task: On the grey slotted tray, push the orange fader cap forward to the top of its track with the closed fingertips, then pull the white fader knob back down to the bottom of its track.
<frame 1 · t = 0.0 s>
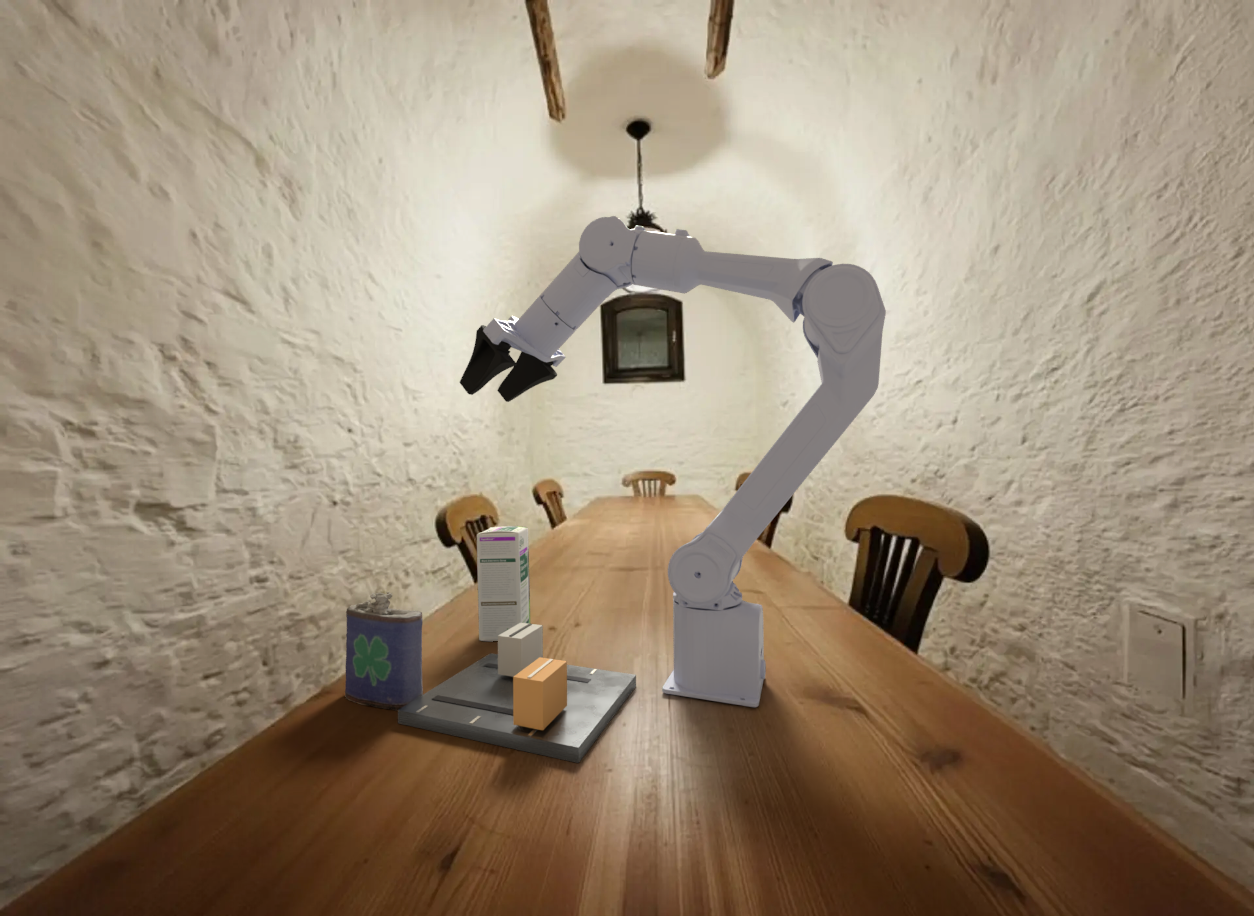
hand: (485, 392, 62), 32 cm above the table, tool tilted 50°, fingers open, 7 cm apart
orange fader: (541, 691, 43), point 4 cm above the table, slide at 0.0 cm
flask: (381, 702, 49), on the table
grey slotted tray: (525, 703, 48), on the table
white fader knob: (520, 648, 53), point 4 cm above the table, slide at 7.0 cm
syrup box: (504, 635, 68), on the table
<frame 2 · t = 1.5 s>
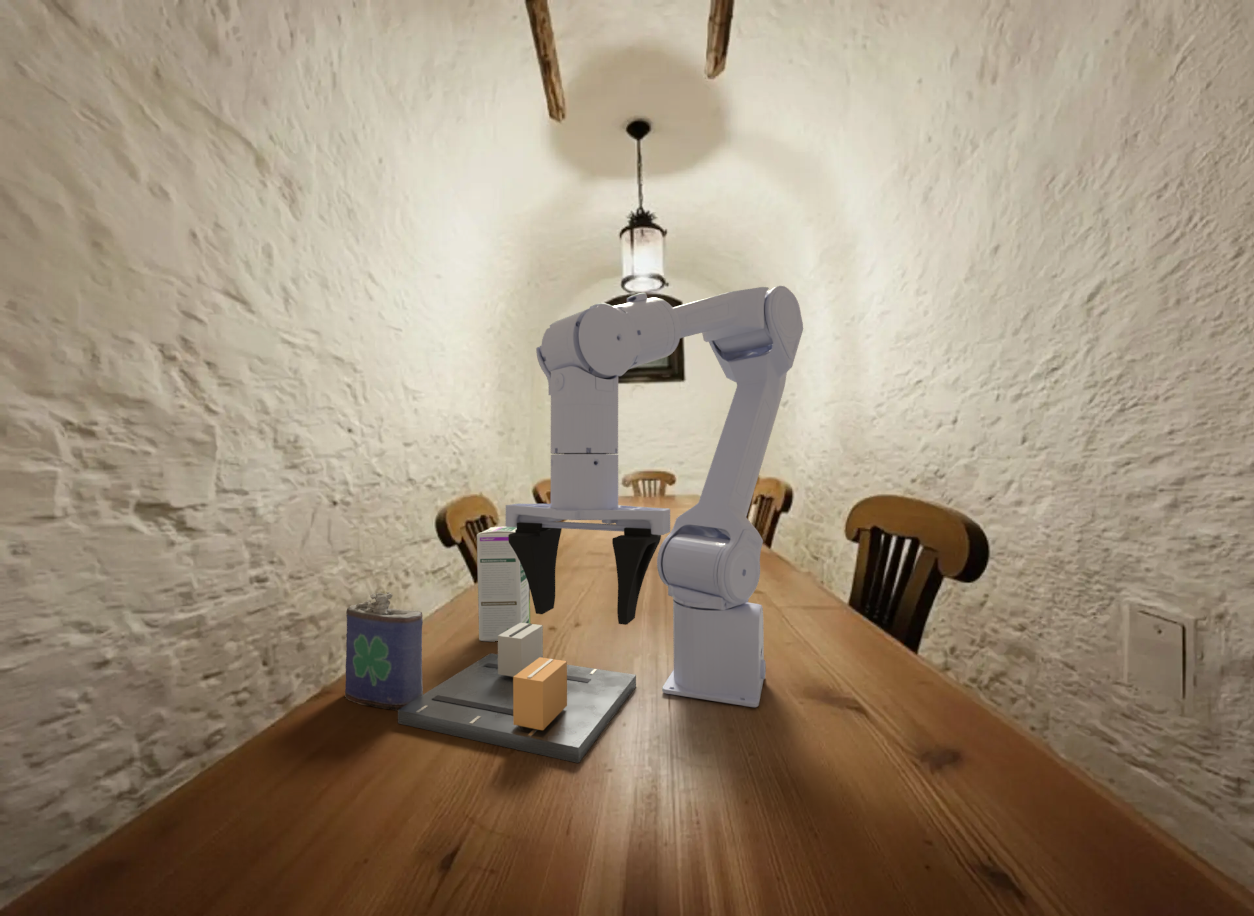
hand: (584, 615, 42), 11 cm above the table, tool pointing down, fingers open, 7 cm apart
nothing on the table moved.
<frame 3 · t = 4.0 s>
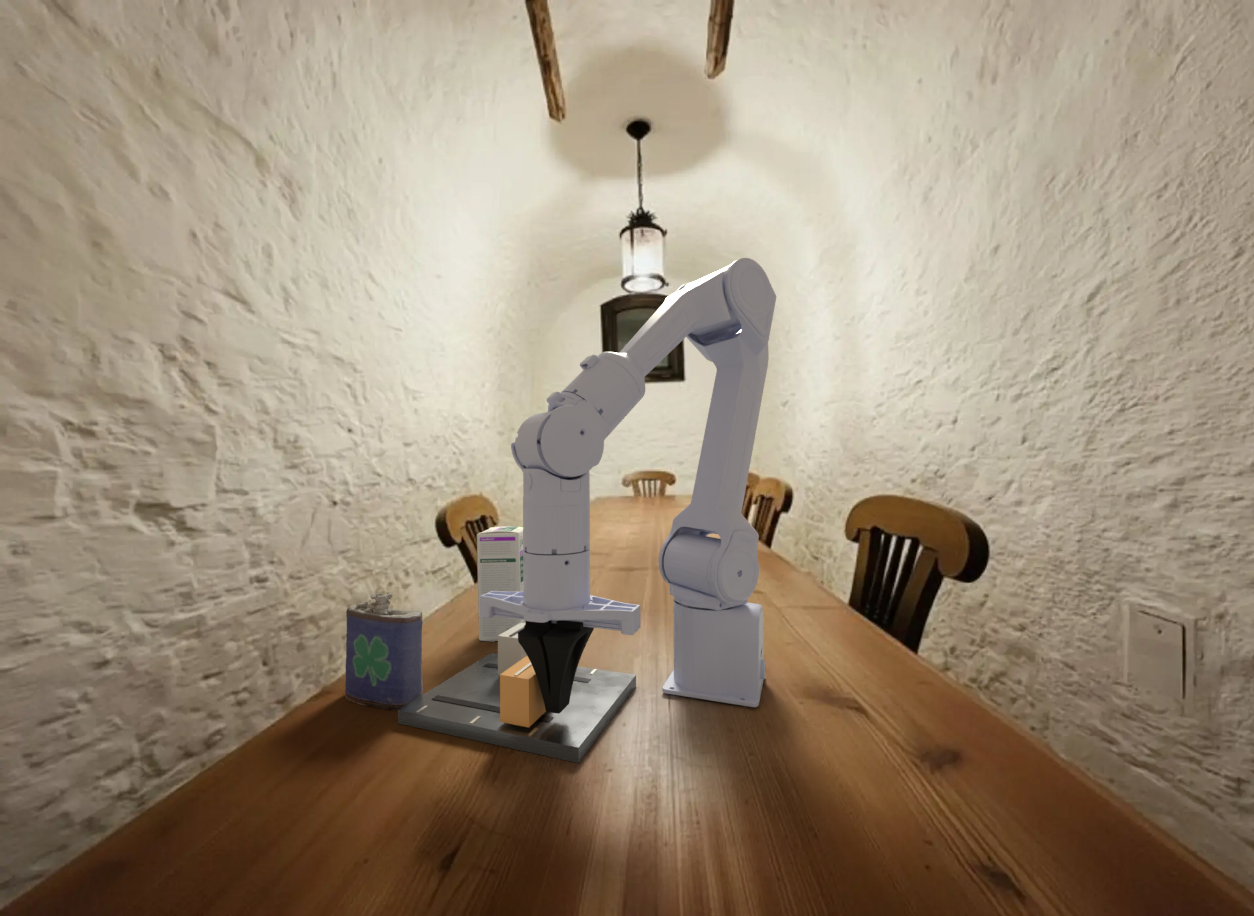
hand: (557, 707, 43), 2 cm above the table, tool pointing down, fingers closed
orange fader: (528, 688, 44), point 4 cm above the table, slide at 1.3 cm, touching gripper
everything else where it was.
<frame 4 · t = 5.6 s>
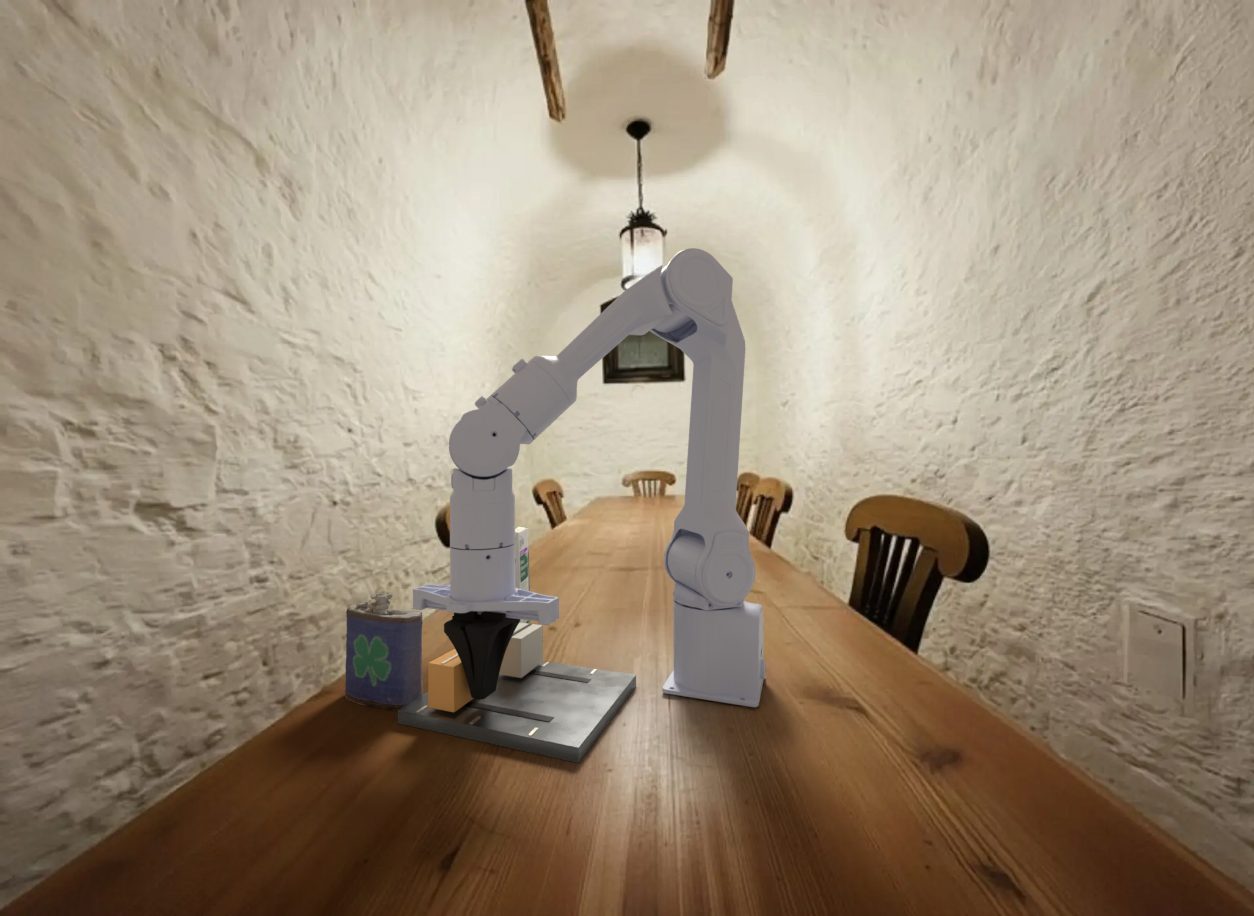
hand: (483, 693, 45), 2 cm above the table, tool pointing down, fingers closed
orange fader: (457, 676, 46), point 4 cm above the table, slide at 8.9 cm, touching gripper
everything else where it was.
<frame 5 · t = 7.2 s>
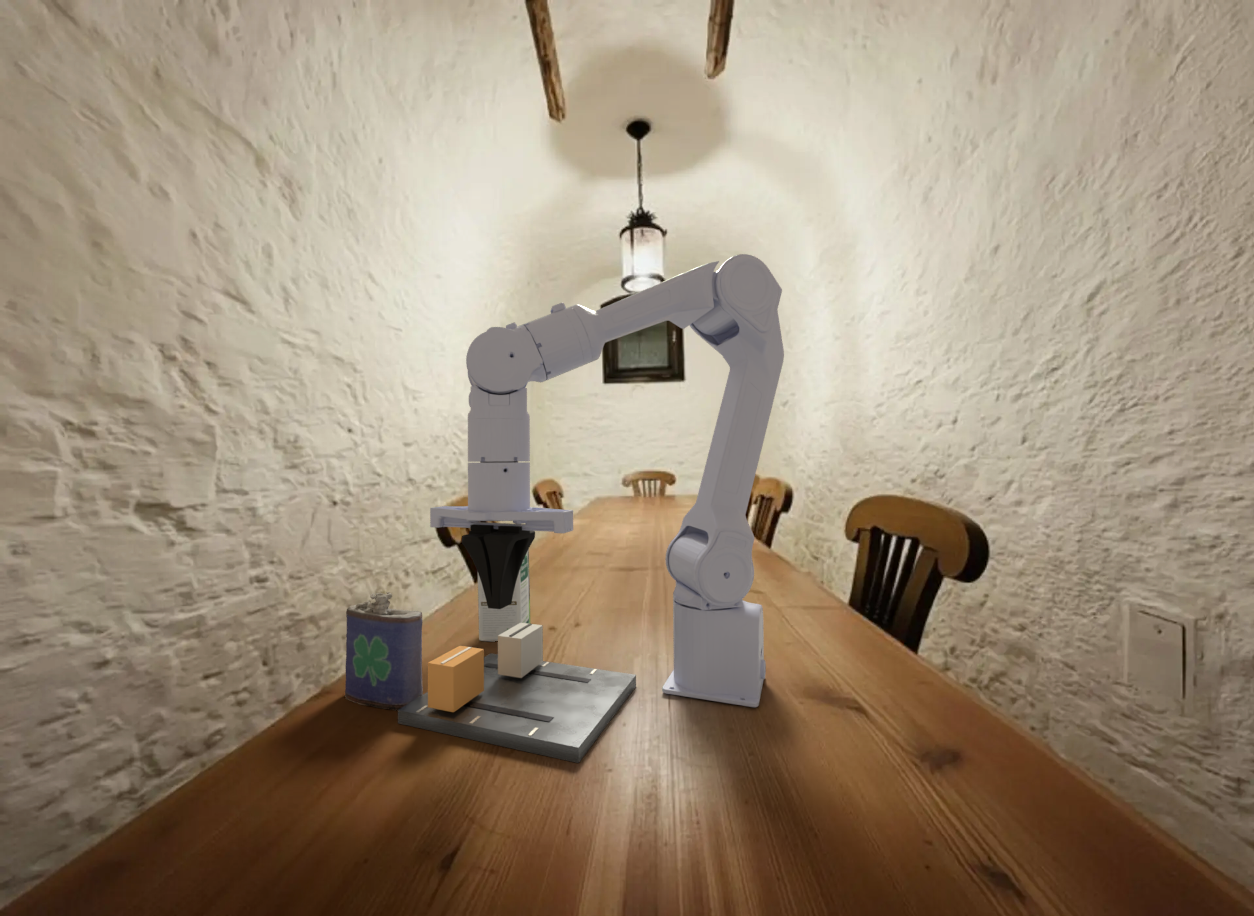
hand: (499, 605, 47), 10 cm above the table, tool pointing down, fingers closed
orange fader: (456, 676, 46), point 4 cm above the table, slide at 8.9 cm
everything else where it was.
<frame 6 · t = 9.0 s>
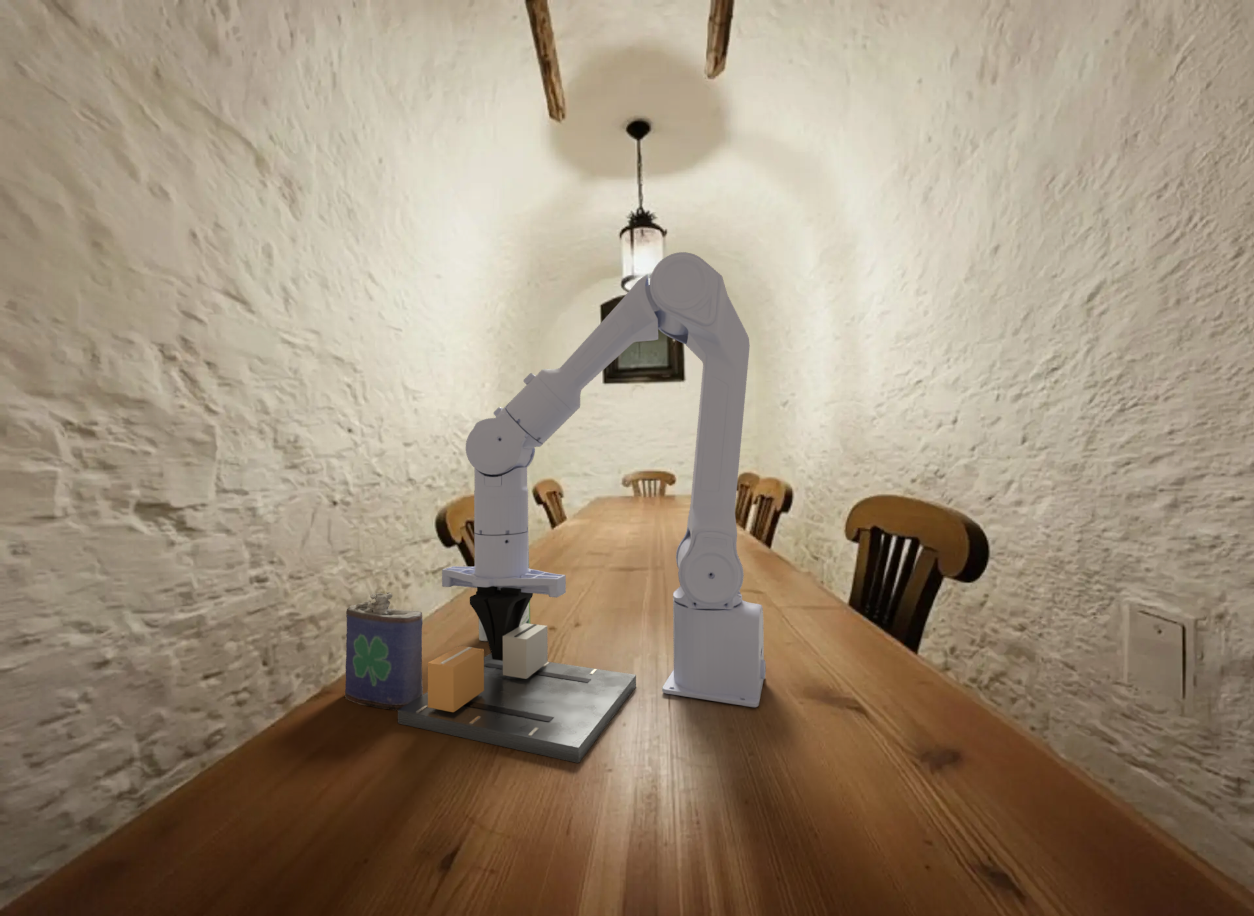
hand: (502, 656, 54), 2 cm above the table, tool pointing down, fingers closed
white fader knob: (525, 649, 53), point 4 cm above the table, slide at 6.4 cm, touching gripper
everything else where it was.
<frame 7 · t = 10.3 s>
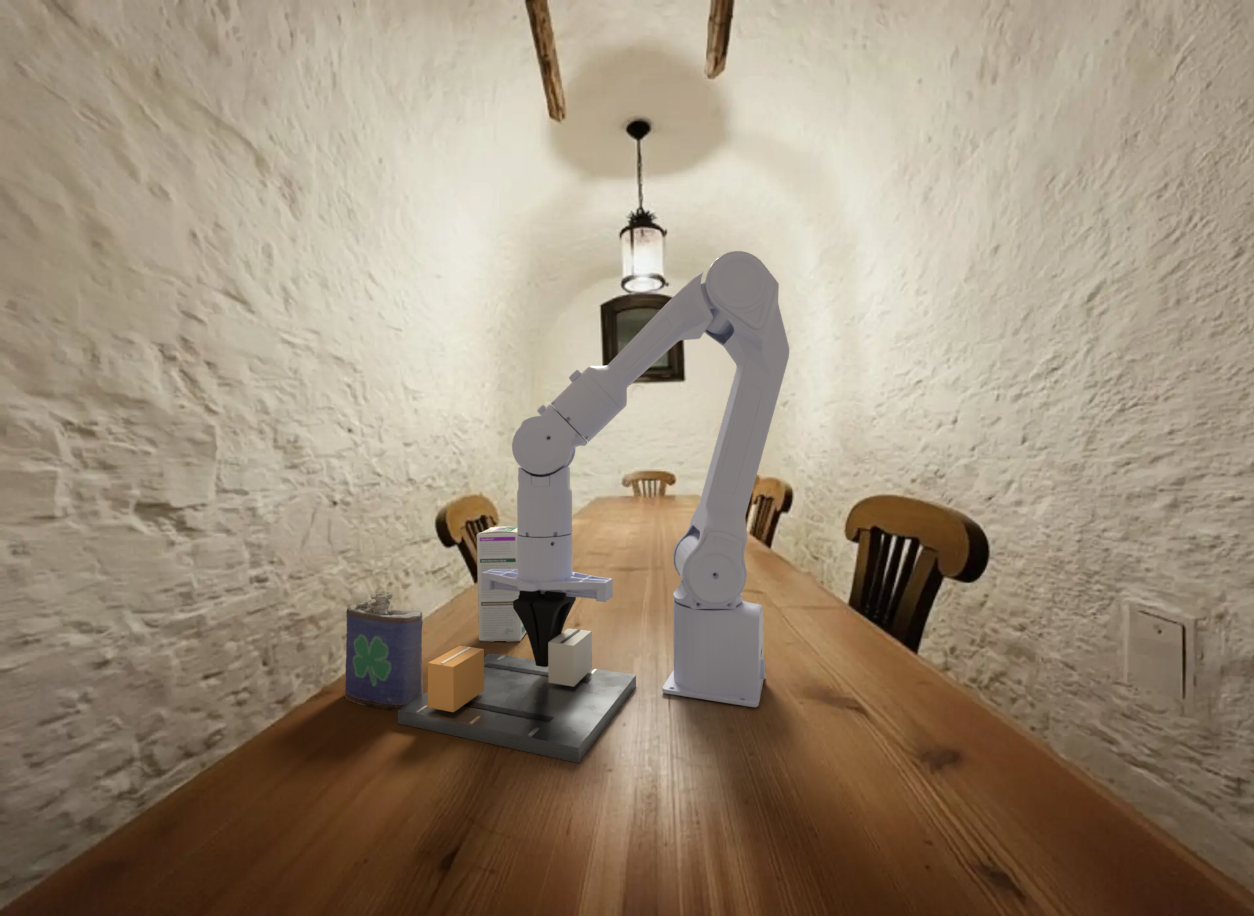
hand: (545, 662, 52), 2 cm above the table, tool pointing down, fingers closed
white fader knob: (570, 655, 51), point 4 cm above the table, slide at 1.1 cm, touching gripper
everything else where it was.
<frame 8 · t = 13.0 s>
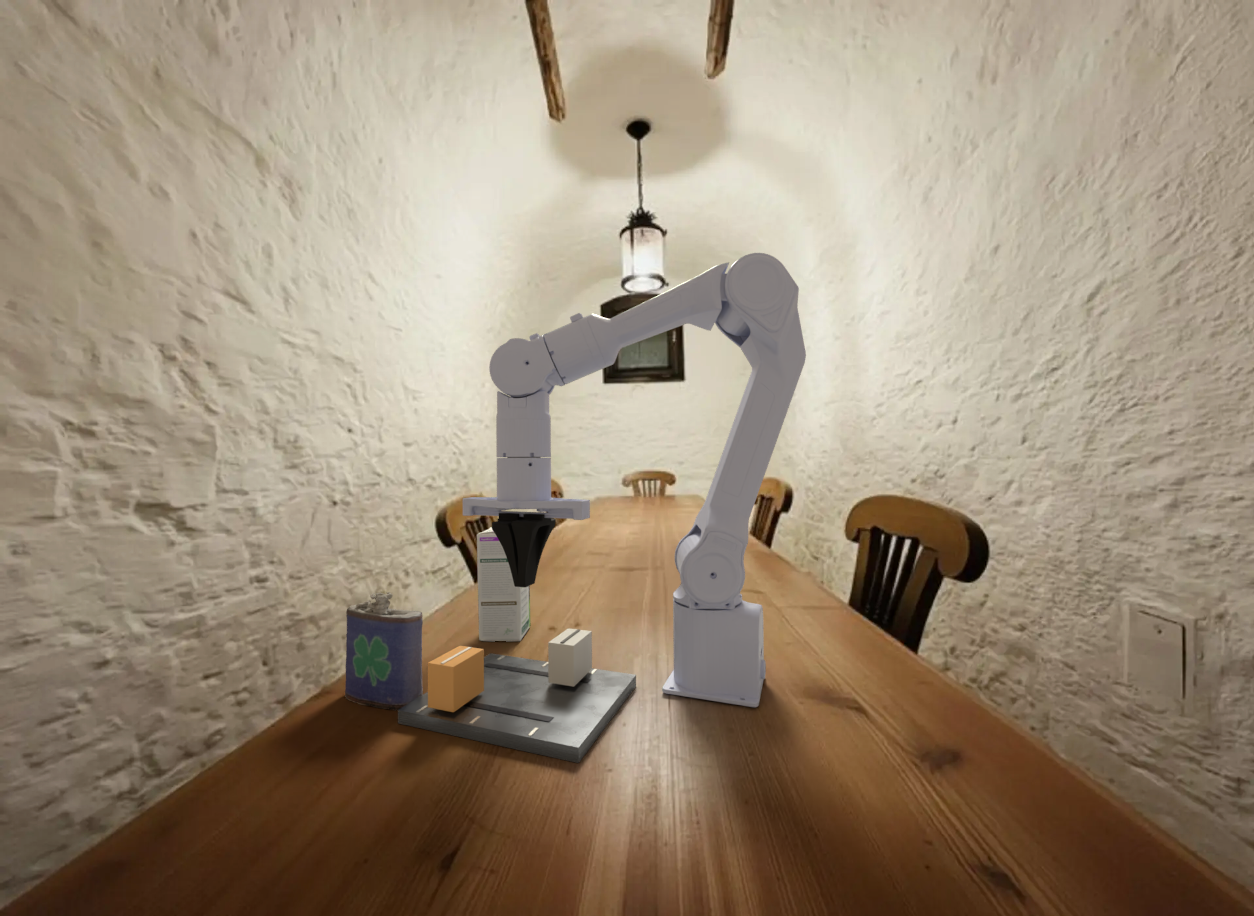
hand: (524, 585, 53), 10 cm above the table, tool pointing down, fingers closed
white fader knob: (570, 655, 51), point 4 cm above the table, slide at 1.1 cm
everything else where it was.
at the end: orange fader slide at 8.9 cm; white fader knob slide at 1.1 cm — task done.
